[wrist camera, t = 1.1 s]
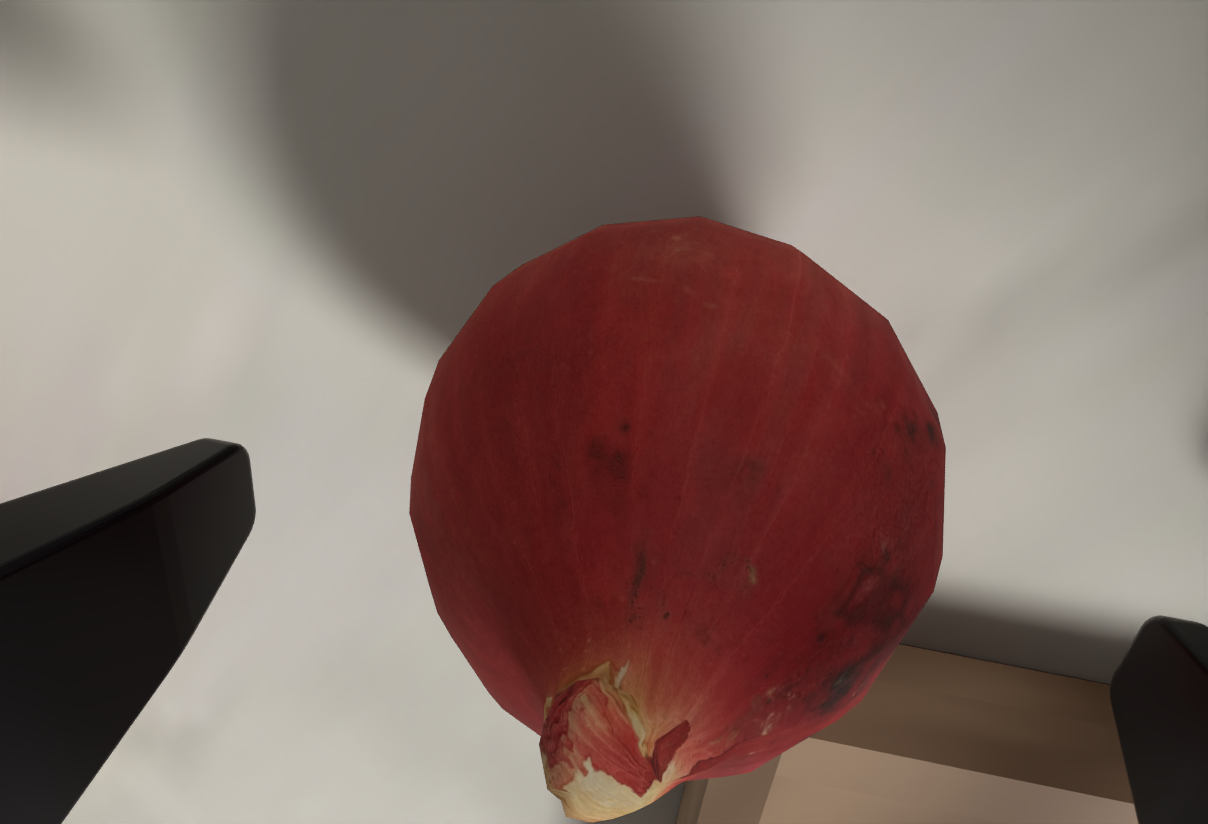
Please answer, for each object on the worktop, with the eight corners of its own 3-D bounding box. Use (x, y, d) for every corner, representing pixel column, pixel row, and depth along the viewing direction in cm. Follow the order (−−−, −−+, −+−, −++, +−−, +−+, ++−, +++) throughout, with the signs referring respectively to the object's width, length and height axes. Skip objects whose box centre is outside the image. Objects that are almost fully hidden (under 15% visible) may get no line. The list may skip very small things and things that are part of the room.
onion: (961, 233, 11) (1312, 667, 4) (798, 547, 14) (847, 1114, 7) (558, 102, 11) (240, 319, 4) (478, 442, 14) (209, 905, 7)
